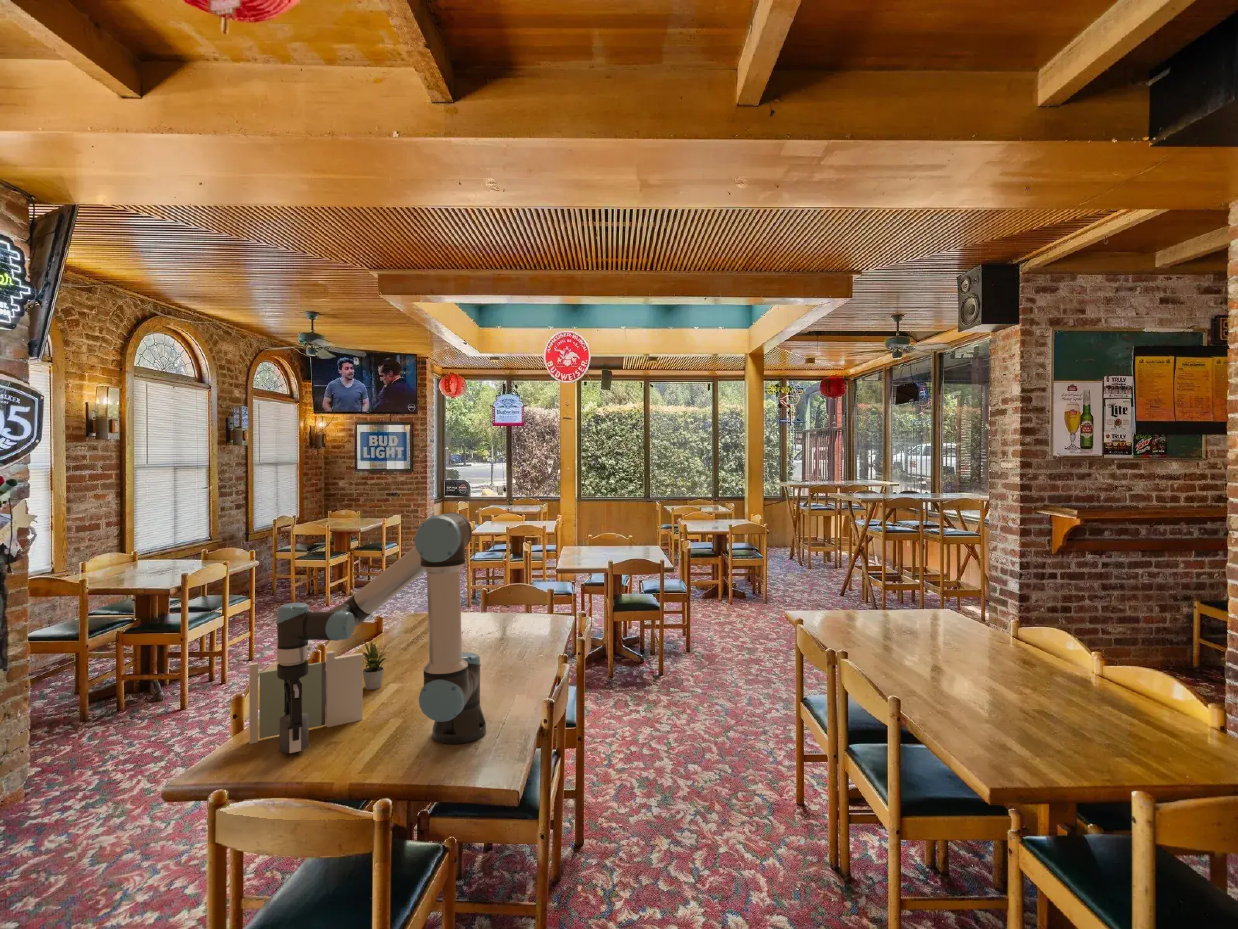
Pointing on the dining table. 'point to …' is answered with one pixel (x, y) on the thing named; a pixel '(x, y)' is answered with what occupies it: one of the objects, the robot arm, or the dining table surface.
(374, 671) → the house plant
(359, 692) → the door frame
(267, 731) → the door
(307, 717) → the dark brown cylinder
